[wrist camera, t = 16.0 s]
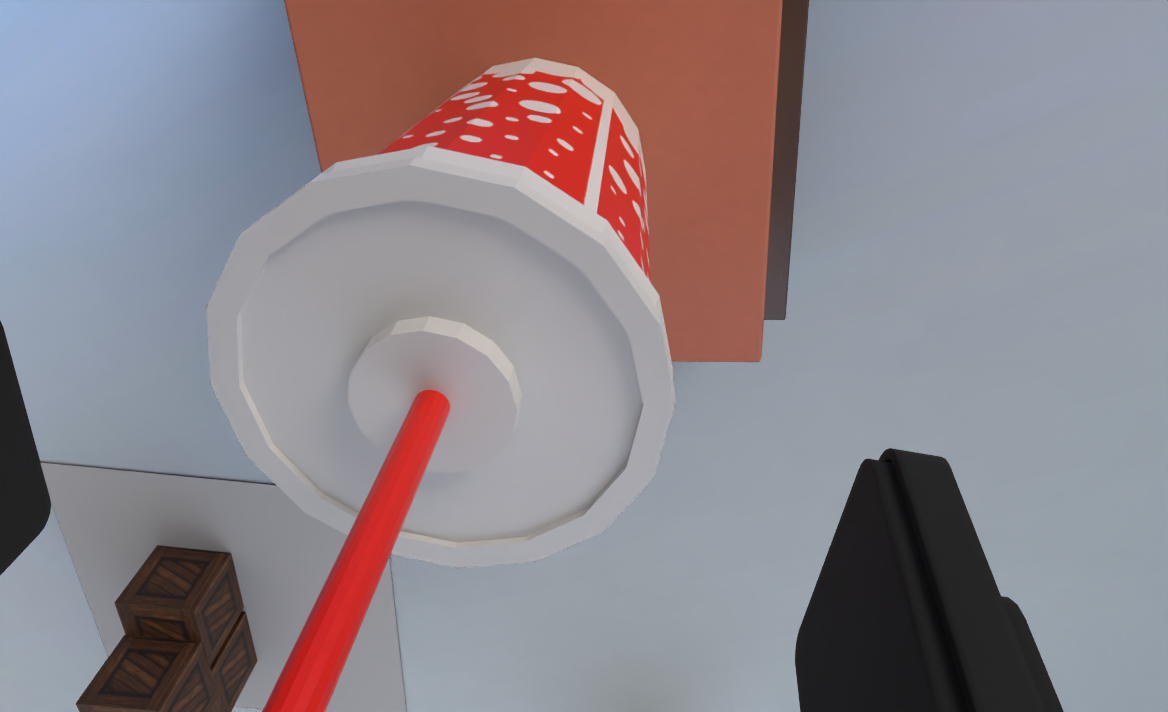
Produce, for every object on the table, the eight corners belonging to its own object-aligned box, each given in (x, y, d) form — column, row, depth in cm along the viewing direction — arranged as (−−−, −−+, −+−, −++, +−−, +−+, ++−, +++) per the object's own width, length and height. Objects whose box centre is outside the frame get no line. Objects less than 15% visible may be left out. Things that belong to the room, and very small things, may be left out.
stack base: (799, -173, 22) (822, -175, 18) (772, 254, 28) (785, 320, 25) (351, -145, 24) (285, -141, 20) (418, 257, 30) (377, 319, 26)
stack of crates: (408, 725, 43) (364, 863, 38) (122, 692, 44) (36, 822, 39) (382, 494, 36) (322, 624, 30) (36, 461, 37) (-87, 580, 31)
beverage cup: (346, 162, 19) (-216, 701, 7) (530, -53, 17) (122, 241, 5) (546, 339, 21) (359, 1002, 9) (741, 171, 18) (836, 797, 6)
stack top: (771, -118, 19) (789, -108, 16) (751, 289, 24) (761, 363, 21) (336, -94, 20) (264, -79, 17) (404, 289, 25) (360, 360, 22)
